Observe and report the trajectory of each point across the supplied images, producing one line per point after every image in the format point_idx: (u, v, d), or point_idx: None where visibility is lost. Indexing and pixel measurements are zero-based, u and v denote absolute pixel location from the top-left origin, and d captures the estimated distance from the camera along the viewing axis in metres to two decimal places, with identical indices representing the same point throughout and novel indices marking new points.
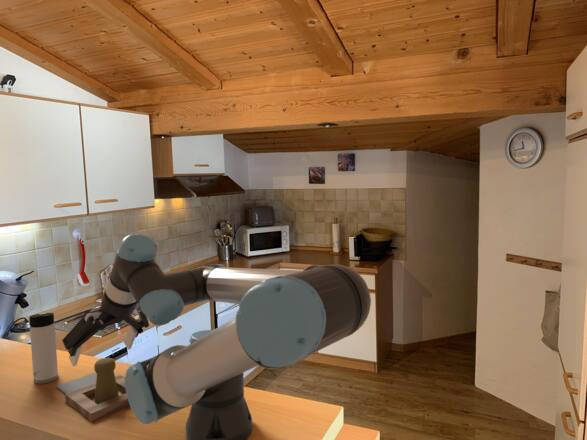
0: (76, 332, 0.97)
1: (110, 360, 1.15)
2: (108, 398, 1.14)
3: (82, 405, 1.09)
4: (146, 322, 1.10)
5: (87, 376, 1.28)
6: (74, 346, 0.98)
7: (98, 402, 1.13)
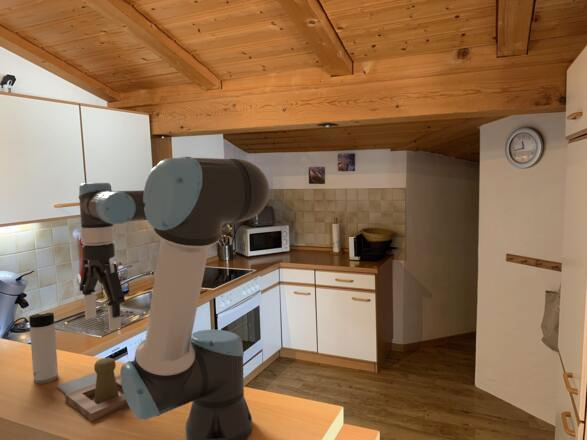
0: None
1: (110, 360, 1.15)
2: (108, 398, 1.14)
3: (82, 405, 1.09)
4: (112, 294, 1.06)
5: (87, 376, 1.28)
6: None
7: (98, 402, 1.13)
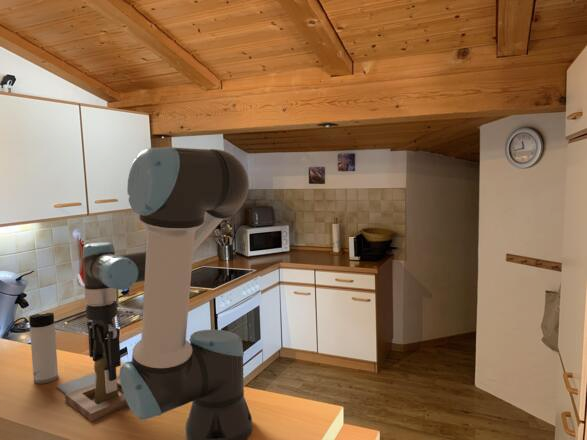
0: None
1: None
2: (108, 398, 1.14)
3: (82, 405, 1.09)
4: (110, 360, 1.10)
5: (87, 376, 1.28)
6: None
7: (98, 402, 1.13)
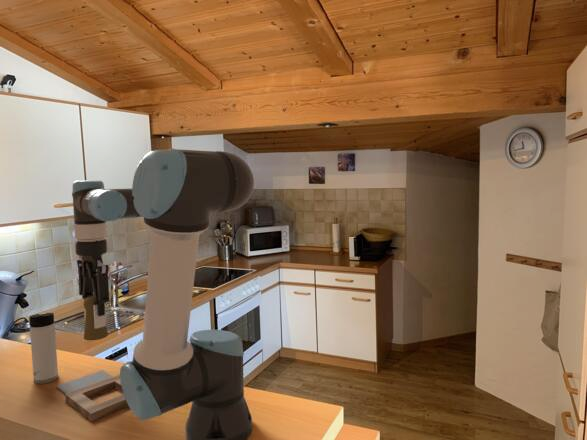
0: None
1: None
2: (97, 333, 1.15)
3: (82, 405, 1.09)
4: (99, 294, 1.12)
5: (87, 376, 1.28)
6: None
7: (87, 337, 1.15)
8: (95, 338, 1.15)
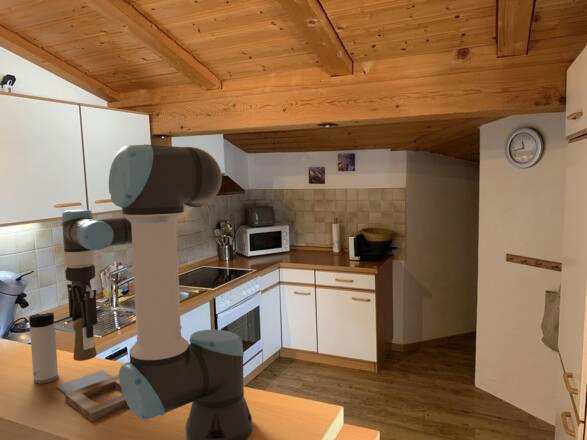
0: None
1: None
2: (86, 354, 1.22)
3: (82, 405, 1.09)
4: (87, 318, 1.18)
5: (87, 376, 1.28)
6: None
7: (76, 358, 1.22)
8: (84, 358, 1.22)
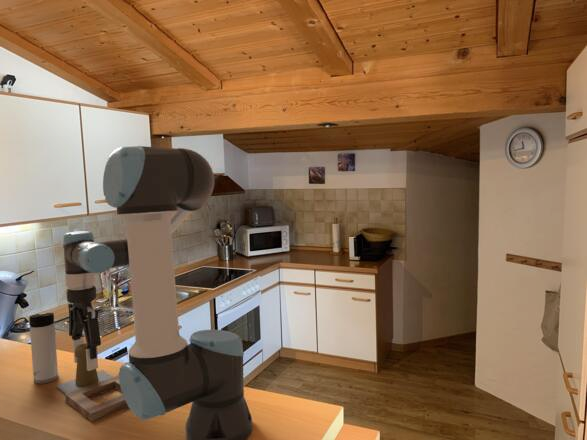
0: None
1: None
2: (88, 380, 1.22)
3: (82, 405, 1.09)
4: (90, 339, 1.18)
5: None
6: None
7: (78, 384, 1.22)
8: (86, 385, 1.22)
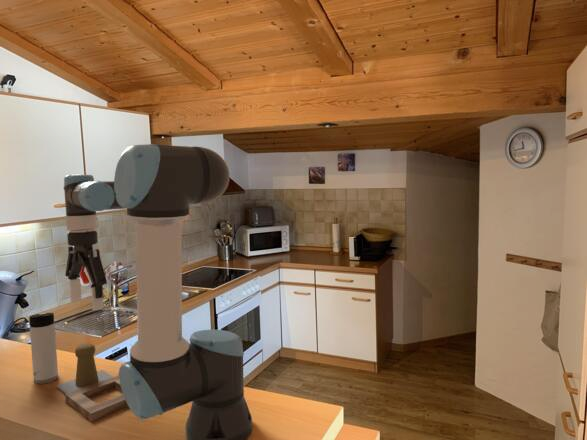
0: None
1: (90, 345, 1.24)
2: (88, 380, 1.22)
3: (82, 405, 1.09)
4: (95, 277, 1.16)
5: None
6: None
7: (78, 384, 1.22)
8: (86, 385, 1.22)
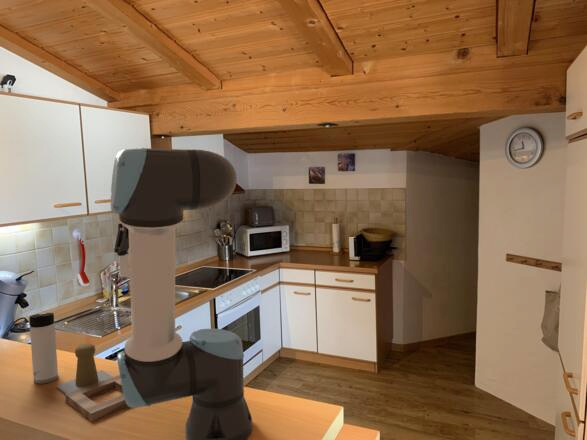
0: None
1: (90, 345, 1.24)
2: (88, 380, 1.22)
3: (82, 405, 1.09)
4: None
5: None
6: None
7: (78, 384, 1.22)
8: (86, 385, 1.22)
